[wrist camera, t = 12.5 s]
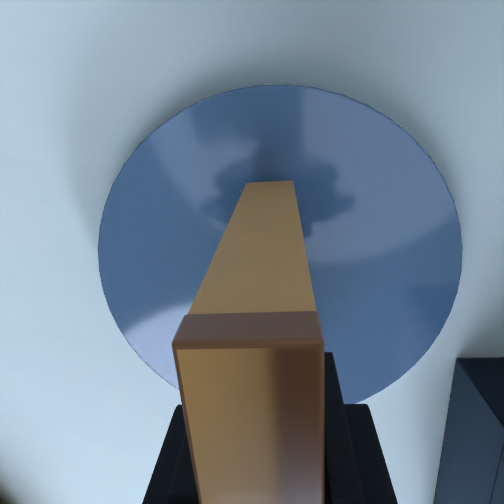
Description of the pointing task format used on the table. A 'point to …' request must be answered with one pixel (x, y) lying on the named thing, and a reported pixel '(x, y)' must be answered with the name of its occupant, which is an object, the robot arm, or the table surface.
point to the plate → (311, 217)
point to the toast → (255, 361)
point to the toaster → (474, 435)
